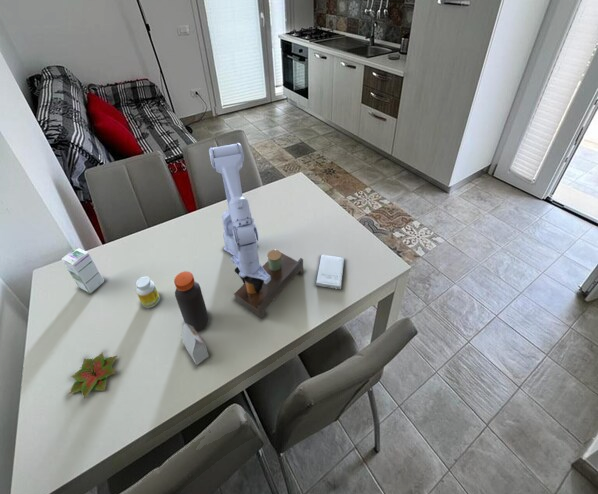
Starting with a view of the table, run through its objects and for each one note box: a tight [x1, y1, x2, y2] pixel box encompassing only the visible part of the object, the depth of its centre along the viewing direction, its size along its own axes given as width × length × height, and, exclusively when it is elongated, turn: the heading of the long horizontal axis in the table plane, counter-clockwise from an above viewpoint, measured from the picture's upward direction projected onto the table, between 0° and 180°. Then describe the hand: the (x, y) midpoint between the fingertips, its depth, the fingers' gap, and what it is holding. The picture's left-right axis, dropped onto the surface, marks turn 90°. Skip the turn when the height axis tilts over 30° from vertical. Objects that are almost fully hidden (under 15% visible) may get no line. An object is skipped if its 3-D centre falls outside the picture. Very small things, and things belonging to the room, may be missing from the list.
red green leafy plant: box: [67, 351, 118, 400], centre depth 86 cm, size 12×12×5 cm
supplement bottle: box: [135, 276, 160, 309], centre depth 104 cm, size 5×5×10 cm
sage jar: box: [267, 249, 282, 271], centre depth 111 cm, size 5×5×6 cm
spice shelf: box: [233, 252, 304, 319], centre depth 109 cm, size 11×22×6 cm, turn 144°
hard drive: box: [315, 254, 345, 290], centre depth 114 cm, size 2×8×12 cm
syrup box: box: [61, 247, 105, 294], centre depth 108 cm, size 6×6×14 cm
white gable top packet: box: [180, 322, 210, 366], centre depth 90 cm, size 4×7×10 cm, turn 42°
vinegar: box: [173, 270, 210, 332], centre depth 94 cm, size 7×7×20 cm
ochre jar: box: [244, 276, 257, 294], centre depth 104 cm, size 5×5×6 cm
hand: (252, 286), depth 105 cm, fingers closed on ochre jar, 4 cm apart
